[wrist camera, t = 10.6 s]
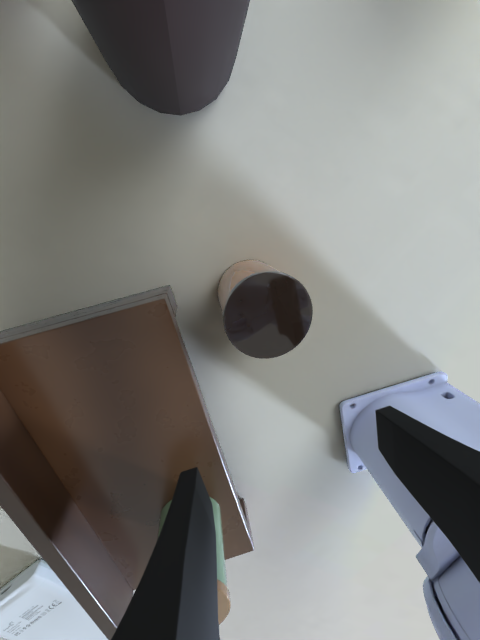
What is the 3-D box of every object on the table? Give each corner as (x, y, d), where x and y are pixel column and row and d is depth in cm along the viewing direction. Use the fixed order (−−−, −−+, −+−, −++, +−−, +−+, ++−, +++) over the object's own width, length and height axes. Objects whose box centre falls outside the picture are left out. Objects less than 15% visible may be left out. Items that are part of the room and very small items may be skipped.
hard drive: (89, 647, 29) (-23, 605, 25) (147, 606, 29) (42, 555, 24) (83, 670, 28) (-37, 630, 24) (144, 627, 27) (31, 578, 23)
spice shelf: (170, 284, 18) (157, 314, 12) (247, 509, 26) (262, 593, 20) (-1, 331, 18) (-98, 385, 12) (130, 547, 25) (111, 644, 20)
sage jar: (212, 483, 20) (218, 575, 15) (228, 525, 21) (239, 621, 16) (148, 504, 20) (131, 604, 14) (170, 545, 21) (161, 648, 16)
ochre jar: (275, 250, 19) (305, 261, 13) (287, 313, 20) (318, 344, 15) (207, 268, 18) (212, 286, 13) (225, 331, 20) (236, 369, 15)
